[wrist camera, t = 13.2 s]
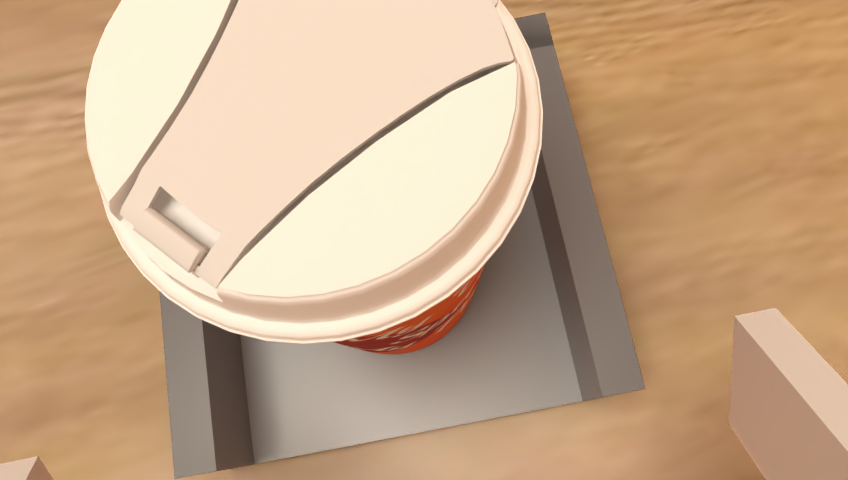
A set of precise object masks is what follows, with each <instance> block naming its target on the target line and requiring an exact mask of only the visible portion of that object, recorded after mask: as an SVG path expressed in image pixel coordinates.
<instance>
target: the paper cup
mask: <svg viewBox="0 0 848 480" xmlns="http://www.w3.org/2000/svg"><path fill="white" fill-rule="evenodd" d="M542 124H543V107H542V100H541V92H540V84H539V78H538V75H537V72H536V68H535V65H534V62H533V59H532V55H531V52H530V49H529V47H528V45H527V43H526V41H525V39H524V37H523V35H522V33H521V31H520V29H519V27H518V25H517V23H516V21H515V20H514V18H513V17H512V16H511V14H510V13H509V12H508V10H507V9H506V8H505V6H504V5H503V4H502V2H501V1H500V0H122V1H121V2H120V4H119V6H118V8H117V9H116V11H115V13H114V14H113V16H112V18H111V19H110V21H109V23H108V24H107V26H106V28H105V30H104V33H103V35H102V38H101V40H100V43H99V45H98V48H97V50H96V53H95V55H94V58H93V62H92V67H91V71H90V75H89V79H88V84H87V91H86V106H85V129H86V139H87V148H88V154H89V158H90V161H91V165H92V168H93V172H94V175H95V179H96V182H97V185H98V187H99V189H100V193H101V196H102V200H103V203H104V207H105V210H106V214H107V217H108V219H109V221H110V223H111V225H112V228H113V230H114V232H115V234H116V236H117V238H118V240H119V242H120V244H121V246H122V248H123V249H124V250H125V252H126V253H127V254H128V256H129V257H130V258H131V260H132V261H133V263H134V264H135V265H136V267H137V268H138V269H139V271H140V272H141V273H142V275H143V276H145V277H146V278H147V279H148V280H149V281H150V282H151V283H152V284H153V285H154V286H155V287H156V288H157V289H158V290H159V291H160V292H161V293H162V294H163V295H164V296H166V297H167V298H168V299H170V300H171V301H173V302H174V303H176V304H177V305H179V306H180V307H182V308H183V309H185V310H186V311H188V312H189V313H191V314H192V315H194V316H195V317H197V318H199V319H202V320H204V321H206V322H208V323H211V324H213V325H215V326H218V327H220V328H222V329H224V330H227V331H229V332H232V333H236V334H240V335H244V336H248V337H252V338H256V339H260V340H264V341H272V342H284V343H296V344H312V343H324V342H334V343H338V344H341V345H345V346H348V347H352V348H355V349H359V350H363V351H368V352H373V353H379V354H403V353H409V352H413V351H417V350H420V349H423V348H425V347H427V346H429V345H431V344H433V343H435V342H436V341H438V340H439V339H441V338H442V337H444V336H445V335H446V334H447V333H448V332H449V331H450V330H451V329H452V328H453V327H454V326H455V325H456V324H457V323H458V321H459V320H460V319H461V317H462V316H463V314H464V313H465V311H466V309H467V307H468V305H469V303H470V301H471V299H472V297H473V294H474V292H475V289H476V287H477V284H478V281H479V279H480V276H481V273H482V270H483V267H484V265H485V263H486V262H487V261H488V260H489V258H490V257H491V256H492V255H493V254H494V253H495V251H496V250H497V249H498V248H499V247H500V246H501V244H502V243H503V241H504V240H505V238H506V236H507V235H508V233H509V231H510V230H511V228H512V226H513V225H514V223H515V222H516V220H517V218H518V217H519V215H520V213H521V211H522V208H523V206H524V204H525V201H526V199H527V196H528V194H529V191H530V189H531V186H532V184H533V181H534V178H535V173H536V168H537V164H538V159H539V155H540V150H541V146H542Z"/></svg>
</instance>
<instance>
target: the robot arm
mask: <svg viewBox="0 0 848 480" xmlns="http://www.w3.org/2000/svg"><path fill="white" fill-rule="evenodd" d="M729 426H730V427H731V429H732V430H733V432H734V433H735V435H736V436H737V438H738V439H739V441H740V442H741V444H742V445H743V447H744V448H745V450H746V451H747V453H748V454H749V456H750V457H751V459H752V460H753V462H754V463H755V465H756V466H757V468H758V469H759V471H760V472H761V474H762V475H763V477H764V478H765V480H848V384H847V383H846V382H845V381H844V380H843V379H842V378H841V376H840V375H839V374H838V373H837V372H836V371H835V370H834V369H833V368H832V367H831V366H830V365H829V364H828V363H827V362H826V361H825V360H824V358H823V357H822V356H821V355H820V354H819V353H818V352H817V351H816V350H815V349H814V348H813V347H812V346H811V345H810V344H809V343H808V341H807V340H806V339H805V338H804V337H803V336H802V335H801V334H800V333H799V332H798V331H797V330H796V329H795V328H794V327H793V326H792V325H791V323H790V322H789V321H788V320H787V319H786V318H785V317H784V316H783V315H782V314H781V313H780V312H779V311H778V310H777V309H776V308H772V309H767V310H762V311H757V312H752V313H747V314H742V315H737V316H734V334H733V353H732V371H731V390H730V408H729ZM0 480H53V478H52V477H51V475H50V474H49V472H48V470H47V469H46V467H45V466H44V464H43V463H42V461H41V460H40V458H39V457H38V456H37V457H32V458H27V459H22V460H17V461H12V462H7V463H2V464H0Z"/></svg>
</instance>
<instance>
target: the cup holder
mask: <svg viewBox="0 0 848 480" xmlns="http://www.w3.org/2000/svg"><path fill="white" fill-rule="evenodd" d="M514 20H515V21H516V23H517V25H518V27H519V29H520V31H521V33H522V35H523V37H524V39H525V41H526V43H527V45H528V47H529V49H530V52H531V55H532V59H533V62H534V65H535V68H536V72H537V75H538V78H539V84H540V92H541V100H542V107H543V124H542V146H541V150H540V155H539V159H538V164H537V168H536V173H535V178H534V181H533V184H532V186H531V189H530V191H529V194H528V196H527V199H526V201H525V204H524V206H523V208H522V211H521V213H520V215H519V217H518V218H517V220H516V222H515V223H514V225H513V226H512V228H511V230H510V231H509V233H508V235H507V236H506V238H505V240H504V241H503V243H502V244H501V246H500V247H499V248H498V249H497V250H496V251H495V253H494V254H493V255H492V256H491V257H490V258H489V260H488V261H487V262H486V263H485V265H484V267H483V270H482V273H481V276H480V279H479V281H478V284H477V287H476V289H475V292H474V294H473V297H472V299H471V301H470V303H469V305H468V307H467V309H466V311H465V313H464V314H463V316H462V317H461V319H460V320H459V321H458V323H457V324H456V325H455V326H454V327H453V328H452V329H451V330H450V331H449V332H448V333H447V334H446V335H445V336H444V337H442V338H441V339H439V340H438V341H436V342H435V343H433V344H431V345H429V346H427V347H425V348H423V349H420V350H417V351H413V352H409V353H403V354H379V353H373V352H368V351H363V350H359V349H355V348H352V347H348V346H345V345H341V344H338V343H334V342H324V343H312V344H296V343H284V342H272V341H264V340H260V339H256V338H252V337H248V336H244V335H240V334H236V333H232V332H229V331H227V330H224V329H222V328H220V327H218V326H215V325H213V324H211V323H208V322H206V321H204V320H202V319H199V318H197V317H195V316H194V315H192V314H191V313H189V312H188V311H186V310H185V309H183V308H182V307H180V306H179V305H177V304H176V303H174V302H173V301H171V300H170V299H168V298H167V297H166V296H164V295H163V294H162V293H161V292H160V303H161V315H162V328H163V340H164V353H165V365H166V377H167V390H168V402H169V415H170V427H171V440H172V452H173V465H174V477H175V479H178V478H183V477H189V476H194V475H199V474H205V473H210V472H216V471H221V470H226V469H232V468H237V467H242V466H247V465H253V464H258V463H263V462H268V461H273V460H279V459H284V458H289V457H294V456H300V455H305V454H310V453H315V452H320V451H326V450H331V449H336V448H341V447H347V446H352V445H357V444H362V443H367V442H373V441H378V440H383V439H388V438H394V437H399V436H404V435H409V434H414V433H420V432H425V431H430V430H435V429H441V428H446V427H451V426H456V425H461V424H467V423H472V422H477V421H482V420H488V419H493V418H498V417H503V416H508V415H514V414H519V413H524V412H529V411H535V410H540V409H545V408H550V407H555V406H561V405H566V404H571V403H576V402H582V401H587V400H592V399H597V398H602V397H608V396H613V395H618V394H623V393H628V392H633V391H638V390H643V389H645V385H644V382H643V378H642V374H641V370H640V367H639V363H638V359H637V355H636V352H635V348H634V344H633V340H632V337H631V333H630V329H629V325H628V322H627V318H626V314H625V310H624V307H623V303H622V299H621V295H620V292H619V288H618V284H617V280H616V277H615V273H614V269H613V265H612V262H611V258H610V254H609V250H608V247H607V243H606V239H605V235H604V232H603V228H602V224H601V220H600V217H599V213H598V209H597V205H596V202H595V198H594V194H593V190H592V187H591V183H590V179H589V175H588V172H587V168H586V164H585V160H584V157H583V153H582V149H581V145H580V142H579V138H578V134H577V130H576V127H575V123H574V119H573V115H572V112H571V108H570V104H569V100H568V97H567V93H566V89H565V85H564V82H563V78H562V74H561V70H560V67H559V63H558V59H557V55H556V52H555V48H554V44H553V40H552V37H551V33H550V29H549V25H548V22H547V18H546V14H545V13H540V14H535V15H530V16H525V17H520V18H515V19H514Z"/></svg>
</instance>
